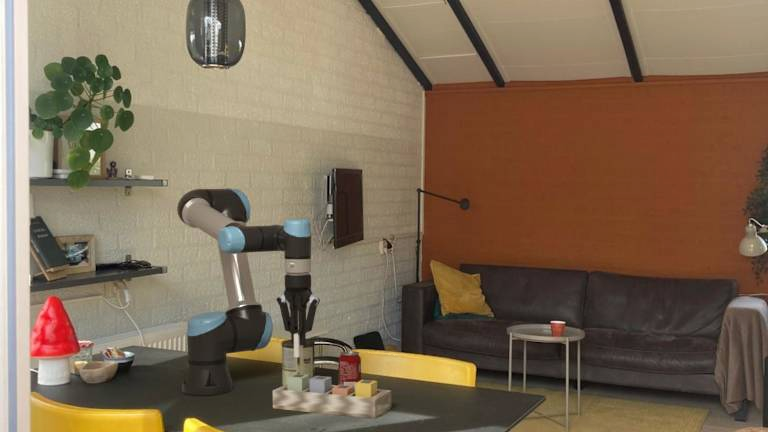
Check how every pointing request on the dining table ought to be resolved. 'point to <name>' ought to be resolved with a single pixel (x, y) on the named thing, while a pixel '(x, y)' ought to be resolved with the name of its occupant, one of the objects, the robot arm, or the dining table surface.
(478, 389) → the dining table surface
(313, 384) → the slate key
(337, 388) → the terracotta key
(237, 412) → the dining table surface
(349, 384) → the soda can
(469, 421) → the dining table surface
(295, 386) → the sage key
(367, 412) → the wooden tray
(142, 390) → the dining table surface
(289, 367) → the coffee can
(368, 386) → the mustard key
